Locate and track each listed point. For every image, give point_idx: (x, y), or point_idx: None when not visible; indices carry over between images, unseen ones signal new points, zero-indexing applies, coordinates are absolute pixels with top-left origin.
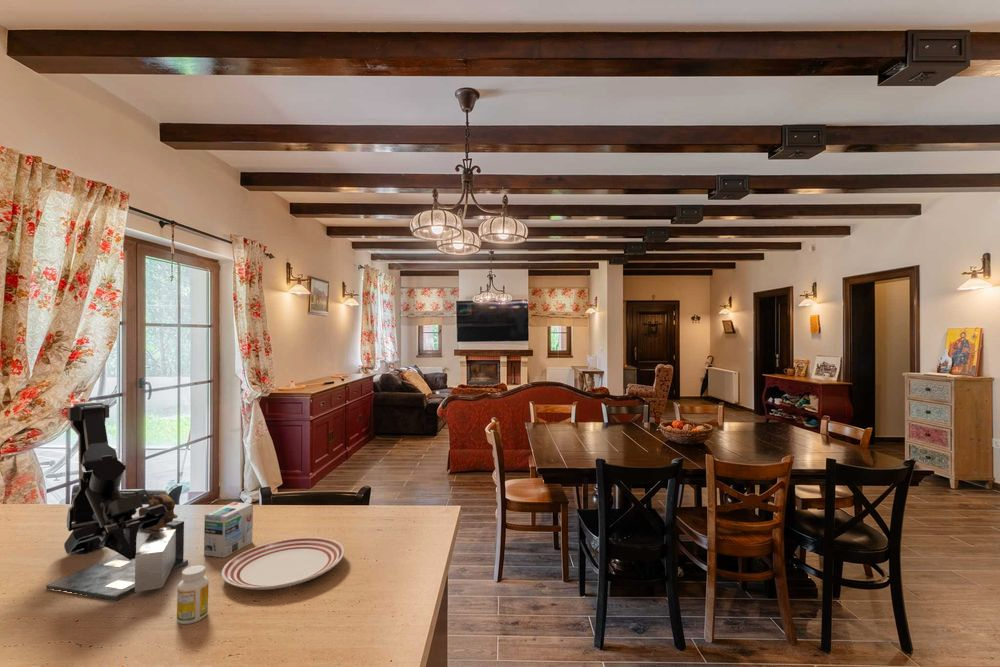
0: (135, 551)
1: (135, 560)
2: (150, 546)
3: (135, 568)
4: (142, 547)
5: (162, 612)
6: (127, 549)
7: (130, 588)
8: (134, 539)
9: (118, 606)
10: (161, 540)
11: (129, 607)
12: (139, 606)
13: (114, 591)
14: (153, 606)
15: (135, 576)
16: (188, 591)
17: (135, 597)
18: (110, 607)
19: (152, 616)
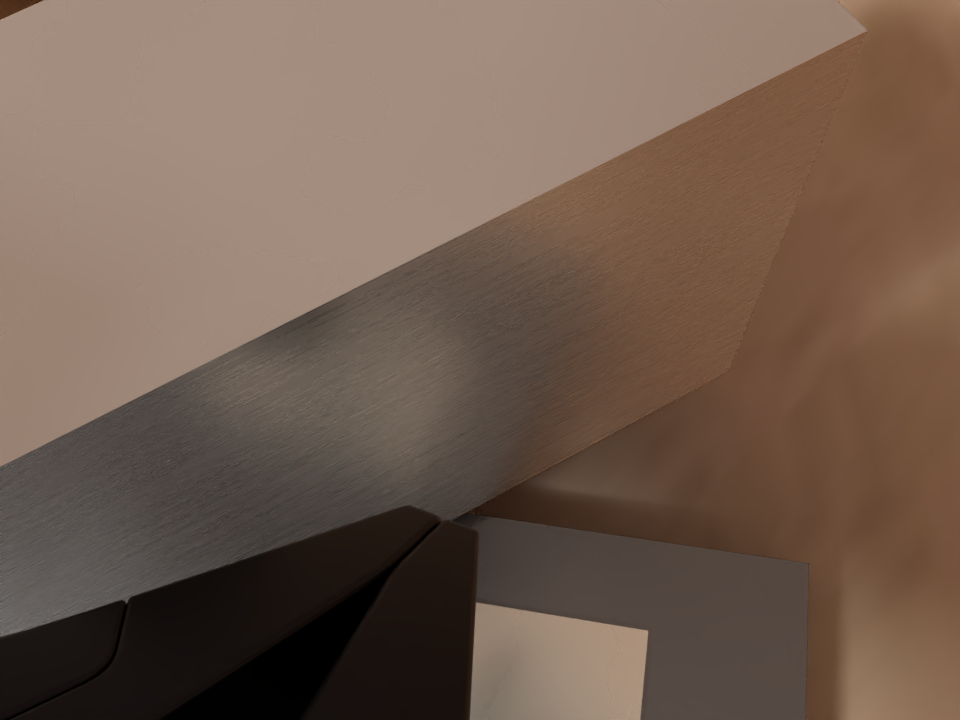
0: (350, 534)
1: (834, 109)
2: (388, 87)
3: (793, 204)
4: (456, 198)
5: (857, 6)
6: (450, 635)
7: (605, 548)
8: (100, 639)
9: (880, 452)
10: (61, 114)
11: (865, 325)
12: (824, 249)
13: (707, 701)
14: None
15: (762, 274)
16: None
17: (677, 426)
18: (922, 523)
19: (933, 31)
